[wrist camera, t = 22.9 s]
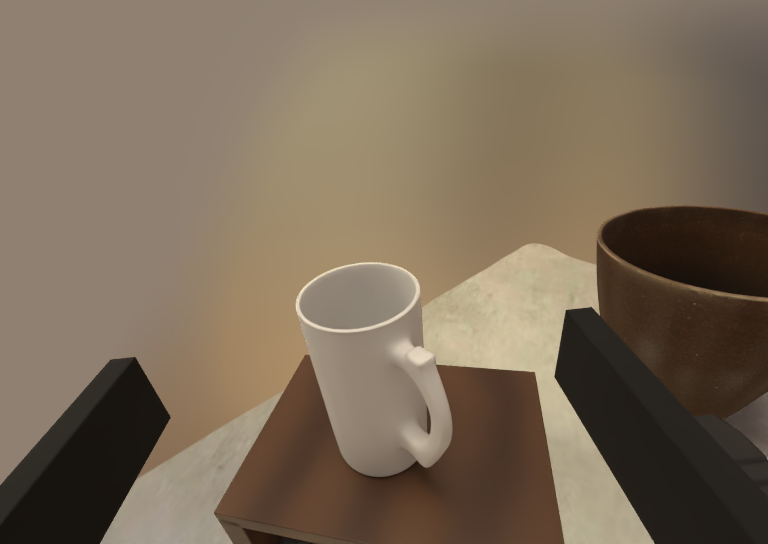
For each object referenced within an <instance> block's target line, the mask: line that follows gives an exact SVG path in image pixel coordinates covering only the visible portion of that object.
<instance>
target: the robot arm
mask: <svg viewBox="0 0 768 544" xmlns="http://www.w3.org/2000/svg"><path fill="white" fill-rule="evenodd" d="M555 378H556V380H557V382H558V383H559V385H560V387H561V388H562V390H563V392H564V393H565V395H566V397H567V398H568V400H569V402H570V403H571V405H572V407H573V408H574V410H575V412H576V413H577V415H578V417H579V418H580V420H581V422H582V423H583V425H584V427H585V428H586V430H587V432H588V433H589V435H590V437H591V438H592V440H593V442H594V443H595V445H596V447H597V448H598V450H599V451H600V453H601V455H602V456H603V458H604V460H605V461H606V463H607V465H608V466H609V468H610V470H611V471H612V473H613V475H614V476H615V478H616V480H617V481H618V483H619V485H620V486H621V488H622V490H623V491H624V493H625V495H626V496H627V498H628V500H629V501H630V503H631V505H632V506H633V508H634V510H635V511H636V513H637V515H638V516H639V518H640V520H641V521H642V523H643V525H644V526H645V528H646V530H647V531H648V533H649V535H650V536H651V538H652V540H653V541H654V543H655V544H768V460H767V459H766V456H765V455H764V454H763V453H762V452H761V451H760V450H759V449H758V448H757V447H756V446H755V445H754V444H753V443H752V442H751V441H750V440H749V439H748V438H747V437H746V436H745V435H743V434H742V433H741V432H740V431H738V430H736V429H735V428H733V427H732V426H730V425H729V424H727V423H726V422H724V421H722V420H721V419H719V418H718V417H716V416H715V415H713V414H710V415H700V416H692V415H691V413H690V412H689V411H688V410H687V409H686V408H685V407H684V406H683V405H682V404H681V403H680V402H679V401H678V399H677V398H676V397H675V396H674V395H673V394H672V393H671V392H670V391H669V390H668V389H667V388H666V387H665V386H664V384H663V383H662V382H661V381H660V380H659V379H658V378H657V377H656V376H655V375H654V374H653V373H652V372H651V370H650V369H649V368H648V367H647V366H646V365H645V364H644V363H643V362H642V361H641V360H640V359H639V358H638V357H637V355H636V354H635V353H634V352H633V351H632V350H631V349H630V348H629V347H628V346H627V345H626V344H625V343H624V341H623V340H622V339H621V338H620V337H619V336H618V335H617V334H616V333H615V332H614V331H613V330H612V329H611V328H610V326H609V325H608V324H607V323H606V322H605V321H604V320H603V319H602V318H601V317H600V316H599V315H598V314H597V312H596V311H595V310H594V309H593V308H592V307H590V308H581V309H571V310H566V313H565V319H564V324H563V330H562V336H561V342H560V348H559V354H558V359H557V365H556V371H555ZM170 418H171V417H170V415H169V414H168V412H167V410H166V409H165V407H164V405H163V404H162V402H161V400H160V398H159V397H158V395H157V393H156V392H155V390H154V388H153V387H152V385H151V383H150V381H149V380H148V378H147V376H146V375H145V373H144V371H143V370H142V368H141V366H140V365H139V363H138V361H137V359H136V358H135V357H131V358H122V359H113V360H110V361H109V362H108V363H107V364H106V366H105V367H104V368H103V369H102V370H101V371H100V372H99V374H98V375H97V376H96V377H95V378H94V379H93V380H92V382H91V383H90V384H89V385H88V386H87V387H86V388H85V390H84V391H83V392H82V393H81V394H80V395H79V397H77V399H76V400H75V401H74V402H73V403H72V404H71V405H70V407H69V408H68V409H67V410H66V411H65V412H64V413H63V415H62V416H61V417H60V418H59V419H58V420H57V421H56V423H55V424H54V425H53V426H52V427H51V428H50V430H49V431H48V432H47V433H46V434H45V435H44V436H43V437H42V439H41V440H40V441H39V442H38V443H37V444H36V445H35V446H34V448H33V449H32V450H31V451H30V452H29V453H28V454H27V456H26V457H25V458H24V459H23V460H22V461H21V462H20V464H19V465H18V466H17V467H16V468H15V469H14V470H13V472H12V473H11V474H10V475H9V476H8V477H7V478H6V479H5V481H4V482H3V483H2V484H1V485H0V544H100V542H101V540H102V539H103V537H104V535H105V533H106V532H107V530H108V528H109V526H110V524H111V523H112V521H113V519H114V517H115V516H116V514H117V512H118V510H119V508H120V507H121V505H122V503H123V501H124V500H125V498H126V496H127V494H128V492H129V491H130V489H131V487H132V485H133V484H134V482H135V480H136V478H137V476H138V474H139V473H140V471H141V469H142V467H143V466H144V464H145V462H146V460H147V459H148V457H149V455H150V453H151V452H152V450H153V448H154V446H155V444H156V443H157V441H158V439H159V437H160V435H161V434H162V432H163V430H164V428H165V427H166V425H167V423H168V421H169V419H170Z"/></svg>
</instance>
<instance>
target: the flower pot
mask: <svg viewBox="0 0 768 544" xmlns="http://www.w3.org/2000/svg"><path fill="white" fill-rule="evenodd" d="M597 287H598V300H599V310H600V317H601V318H602V319H603V320H604V321H605V322H606V323H607V324H608V325H609V326H610V328H611V329H612V330H613V331H614V332H615V333H616V334H617V335H618V336H619V337H620V338H621V339H622V340H623V341H624V343H625V344H626V345H627V346H628V347H629V348H630V349H631V350H632V351H633V352H634V353H635V354H636V355H637V357H638V358H639V359H640V360H641V361H642V362H643V363H644V364H645V365H646V366H647V367H648V368H649V369H650V370H651V372H652V373H653V374H654V375H655V376H656V377H657V378H658V379H659V380H660V381H661V382H662V383H663V384H664V386H665V387H666V388H667V389H668V390H669V391H670V392H671V393H672V394H673V395H674V396H675V397H676V398H677V399H678V401H679V402H680V403H681V404H682V405H683V406H684V407H685V408H686V409H687V410H688V411H689V412H690V413H691V415H692V416H700V415H710V414H713V415H715V416H716V417H718V418H719V419H721V420H723V419H725V418H727V417H729V416H730V415H732V414H734V413H736V412H737V411H739V410H740V409H742V408H744V407H745V406H747V405H748V404H750V403H752V402H753V401H755V400H756V399H758V398H759V397H761V396H762V395H763V394H765V393H766V392H767V391H768V214H766V213H761V212H755V211H748V210H741V209H733V208H723V207H710V206H661V207H651V208H643V209H637V210H632V211H629V212H625V213H621V214H618V215H616V216H614V217H612V218H610V219H608V220H607V221H605V222H604V223H603V224H602V225H601V226H600V227H599V229H598V232H597Z"/></svg>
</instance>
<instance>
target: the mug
mask: <svg viewBox="0 0 768 544" xmlns="http://www.w3.org/2000/svg"><path fill="white" fill-rule="evenodd" d="M296 311H297V314H298V316H299V320H300V324H301V328H302V332H303V335H304V339H305V342H306V345H307V348H308V352H309V355H310V358H311V361H312V364H313V367H314V371H315V374H316V377H317V380H318V383H319V386H320V390H321V393H322V396H323V399H324V402H325V406H326V409H327V412H328V415H329V419H330V422H331V425H332V428H333V431H334V434H335V437H336V440H337V443H338V446H339V449H340V452H341V454H342V456H343V458H344V460H345V461H346V462H347V463H348V464H349V466H351V467H352V468H353V469H354V470H356V471H357V472H359V473H362V474H364V475H367V476H372V477H387V476H392V475H395V474H398V473H400V472H402V471H404V470H406V469H407V468H409V467H410V466H411V465H413V464H414V463H415V462H416V461H418V462H419V463H420V464H421V465H422V466H423V467H425V468H428V467H431V466H432V465H433V464H434V463H436V462H437V461H438V460H439V459H440V457H441V456H442V455H443V453H444V452H445V451H446V449H447V448H448V446H449V445H450V442H451V438H452V418H451V412H450V408H449V404H448V400H447V397H446V393H445V390H444V387H443V384H442V381H441V379H440V376H439V373H438V370H437V367H436V361H435V355H434V354H432V353H430V352H429V351H427V350H425V349H424V346H423V325H422V309H421V299H420V285H419V282H418V280H417V279H416V278H415V276H414V275H413V274H411V273H410V272H409V271H407V270H405V269H403V268H401V267H398V266H395V265H391V264H385V263H357V264H351V265H346V266H342V267H338V268H335V269H332V270H330V271H328V272H325V273H323V274H321V275H319V276H318V277H316V278H314V279H313V280H312V281H310V282H309V283H308V284H307V285H306V286H305V287H304V288H303V289H302V290H301V292H300V294H299V295H298V297H297V300H296ZM426 404H427V406H426ZM427 407H428V410H429V413H430V417H431V431H430V435H429V434H428V433H427Z"/></svg>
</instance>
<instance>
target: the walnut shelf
mask: <svg viewBox="0 0 768 544" xmlns="http://www.w3.org/2000/svg"><path fill="white" fill-rule="evenodd" d="M436 367H437V370H438V373H439V376H440V379H441V381H442V384H443V387H444V390H445V393H446V397H447V400H448V404H449V408H450V412H451V418H452V438H451V442H450V445H449V446H448V448H447V449H446V451H445V452H444V453H443V455H442V456H441V457H440V459H439V460H438V461H437V462H436V463H434V464H433V465H432V466H431V467H428V468H425V467H423V466H422V465H421V464H420V463H419V462H418V461H416V462H415V463H414V464H413V465H411V466H410V467H409V468H407V469H406V470H404V471H402V472H400V473H398V474H395V475H392V476H387V477H372V476H367V475H364V474H362V473H359V472H357V471H356V470H354V469H353V468H352V467H351V466H349V464H348V463H347V462H346V461H345V460H344V458H343V456H342V454H341V452H340V449H339V446H338V443H337V440H336V437H335V434H334V431H333V428H332V425H331V422H330V419H329V415H328V412H327V409H326V406H325V402H324V399H323V396H322V393H321V390H320V386H319V383H318V380H317V377H316V374H315V371H314V367H313V364H312V361H311V358H310V355H305V356H304V358H303V360H302V361H301V363H300V365H299V367H298V368H297V370H296V372H295V374H294V375H293V377H292V379H291V380H290V382H289V384H288V386H287V388H286V389H285V391H284V393H283V394H282V396H281V398H280V399H279V401H278V403H277V405H276V406H275V408H274V410H273V412H272V413H271V415H270V417H269V418H268V420H267V422H266V424H265V425H264V427H263V429H262V431H261V432H260V434H259V436H258V437H257V439H256V441H255V443H254V444H253V446H252V448H251V450H250V451H249V453H248V455H247V456H246V458H245V460H244V462H243V463H242V465H241V467H240V469H239V470H238V472H237V474H236V475H235V477H234V479H233V481H232V482H231V484H230V486H229V488H228V489H227V491H226V493H225V494H224V496H223V498H222V500H221V501H220V503H219V505H218V507H217V508H216V510H215V512H214V514H215V516H216V517H217V519H218V520H219V522H220V523H221V525H222V526H223V528H224V529H225V531H226V533H227V534H228V536H229V537H230V539H231V541H232V542H233V544H278V543H279V541H280V539H281V536H284V537H288V538H293V539H298V540H302V541H307V542H312V543H317V544H564V539H563V533H562V527H561V521H560V516H559V510H558V504H557V498H556V492H555V487H554V481H553V475H552V469H551V463H550V457H549V452H548V446H547V440H546V434H545V428H544V423H543V417H542V411H541V405H540V399H539V394H538V388H537V382H536V376H535V372H526V371H512V370H499V369H486V368H473V367H459V366H446V365H436ZM426 406H427V404H426ZM430 431H431V417H430V413H429V410H428V407H427V433H428V434H429V435H430Z"/></svg>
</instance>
